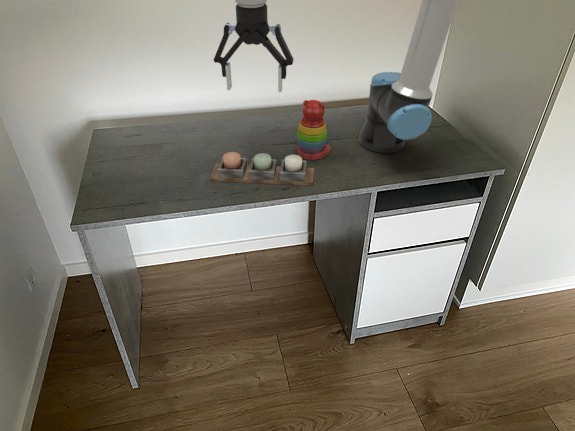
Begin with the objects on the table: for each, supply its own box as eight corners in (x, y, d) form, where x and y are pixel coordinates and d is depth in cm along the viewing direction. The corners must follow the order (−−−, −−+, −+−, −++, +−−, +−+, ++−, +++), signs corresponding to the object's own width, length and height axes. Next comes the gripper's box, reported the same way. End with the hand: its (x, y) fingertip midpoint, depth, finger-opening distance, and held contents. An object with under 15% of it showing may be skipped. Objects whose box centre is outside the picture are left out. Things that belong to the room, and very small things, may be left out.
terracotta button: (242, 161, 140) (241, 152, 138) (239, 169, 136) (238, 161, 134) (225, 160, 140) (224, 151, 138) (222, 169, 136) (221, 160, 135)
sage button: (272, 162, 140) (271, 153, 138) (270, 171, 136) (270, 162, 134) (255, 161, 140) (255, 152, 138) (253, 170, 136) (252, 161, 134)
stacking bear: (333, 149, 153) (337, 97, 142) (321, 163, 145) (324, 110, 134) (302, 142, 156) (304, 91, 145) (289, 156, 149) (290, 103, 138)
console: (313, 170, 142) (314, 160, 140) (312, 185, 136) (313, 175, 133) (215, 166, 144) (214, 156, 141) (210, 180, 137) (209, 170, 135)
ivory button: (302, 163, 139) (302, 155, 137) (301, 172, 135) (301, 163, 133) (285, 163, 139) (285, 154, 137) (284, 172, 135) (284, 163, 134)
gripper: (304, 1, 113) (302, 85, 126) (203, -2, 115) (211, 82, 128) (302, 9, 107) (300, 96, 120) (195, 6, 109) (205, 93, 122)
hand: (254, 89), depth 124 cm, fingers open, 13 cm apart
